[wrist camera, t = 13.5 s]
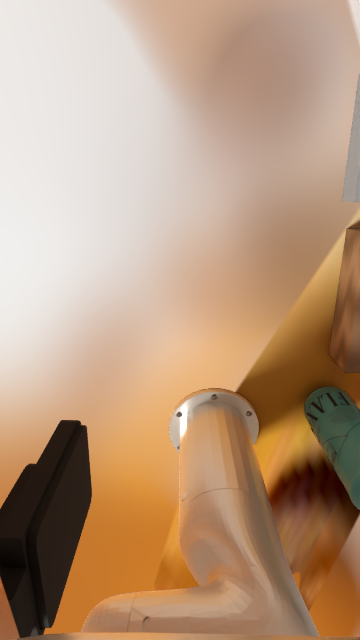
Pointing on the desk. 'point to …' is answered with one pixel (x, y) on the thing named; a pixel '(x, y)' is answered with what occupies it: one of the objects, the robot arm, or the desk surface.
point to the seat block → (353, 157)
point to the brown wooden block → (348, 308)
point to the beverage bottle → (337, 434)
